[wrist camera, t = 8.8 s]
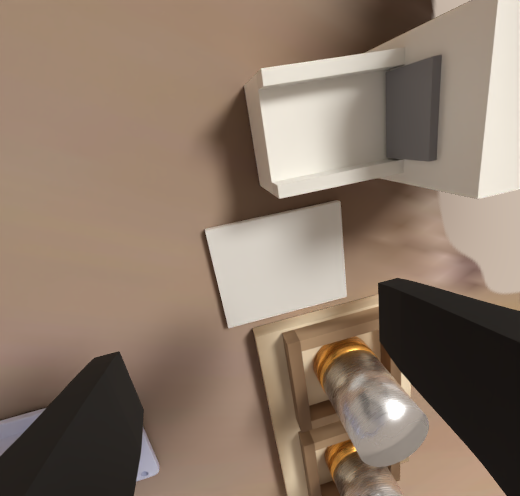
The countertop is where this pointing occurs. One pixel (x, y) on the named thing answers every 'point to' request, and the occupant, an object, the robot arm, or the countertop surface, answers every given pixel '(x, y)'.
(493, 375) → the robot arm
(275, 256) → the mat
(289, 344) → the seat board
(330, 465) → the sleeve
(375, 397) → the sleeve
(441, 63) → the feeder
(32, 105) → the countertop surface
